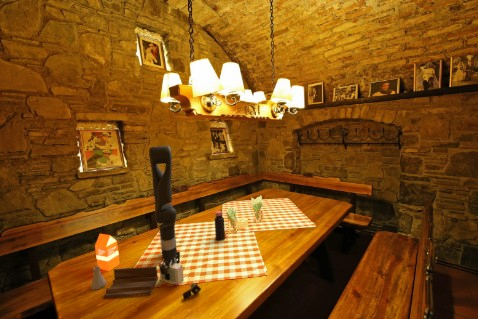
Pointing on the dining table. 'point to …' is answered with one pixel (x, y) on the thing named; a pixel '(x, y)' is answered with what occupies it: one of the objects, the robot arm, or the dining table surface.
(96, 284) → the flask
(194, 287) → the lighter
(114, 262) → the orange juice
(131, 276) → the picture ledge
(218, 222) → the bottle
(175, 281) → the white rectangular block
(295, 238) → the dining table surface
